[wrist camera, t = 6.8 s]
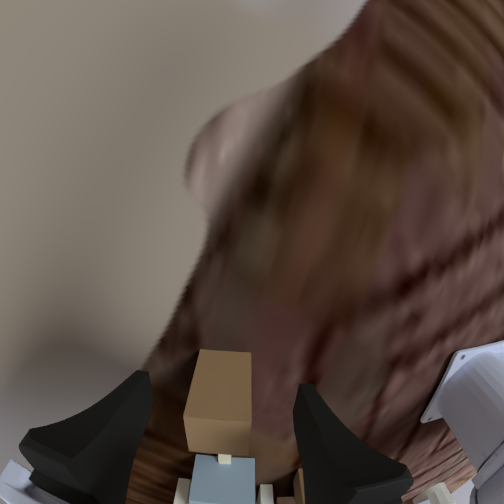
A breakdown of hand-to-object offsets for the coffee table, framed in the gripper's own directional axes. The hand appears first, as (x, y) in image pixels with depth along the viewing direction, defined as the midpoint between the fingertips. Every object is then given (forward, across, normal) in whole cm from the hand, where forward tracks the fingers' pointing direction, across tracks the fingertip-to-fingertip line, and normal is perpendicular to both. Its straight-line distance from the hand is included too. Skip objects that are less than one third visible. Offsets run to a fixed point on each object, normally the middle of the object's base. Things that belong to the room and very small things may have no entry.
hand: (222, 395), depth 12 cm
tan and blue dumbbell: (+4, 0, +9) cm, 9 cm away
